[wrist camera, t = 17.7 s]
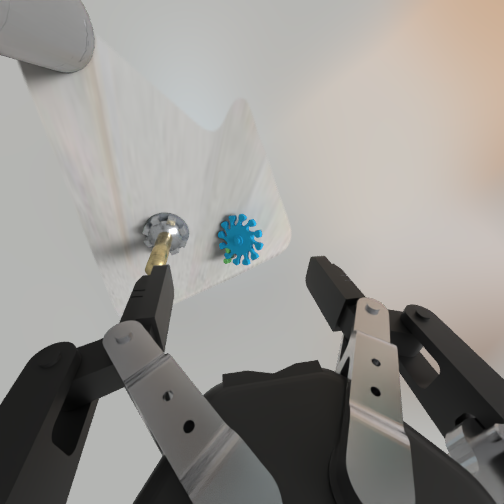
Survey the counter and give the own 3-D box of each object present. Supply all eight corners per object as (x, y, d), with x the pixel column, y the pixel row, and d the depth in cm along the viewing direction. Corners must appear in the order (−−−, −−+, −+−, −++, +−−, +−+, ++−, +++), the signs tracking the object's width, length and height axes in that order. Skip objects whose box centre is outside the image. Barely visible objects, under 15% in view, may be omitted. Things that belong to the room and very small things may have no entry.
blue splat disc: (233, 202, 40) (270, 241, 37) (250, 203, 45) (283, 236, 42) (205, 244, 45) (236, 280, 43) (223, 240, 50) (251, 272, 48)
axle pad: (140, 241, 42) (140, 242, 42) (151, 206, 39) (151, 206, 39) (181, 254, 45) (181, 255, 45) (194, 222, 42) (194, 223, 42)
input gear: (140, 242, 42) (120, 282, 32) (151, 207, 39) (132, 240, 29) (179, 254, 45) (172, 294, 35) (193, 223, 42) (189, 258, 32)
